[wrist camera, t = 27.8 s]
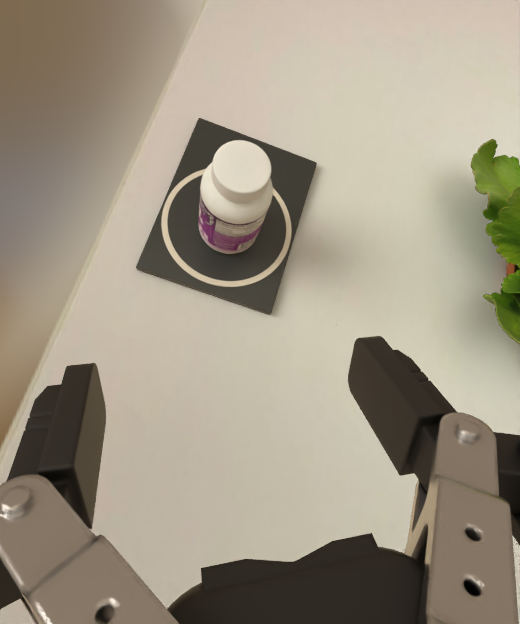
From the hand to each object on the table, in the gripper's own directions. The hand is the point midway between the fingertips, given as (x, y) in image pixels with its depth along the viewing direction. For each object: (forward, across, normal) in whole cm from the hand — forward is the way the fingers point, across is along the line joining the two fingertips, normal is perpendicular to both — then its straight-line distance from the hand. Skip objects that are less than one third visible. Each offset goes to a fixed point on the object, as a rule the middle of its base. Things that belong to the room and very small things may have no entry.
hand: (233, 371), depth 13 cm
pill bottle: (+25, -4, +4) cm, 26 cm away
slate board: (+26, -4, +4) cm, 27 cm away
